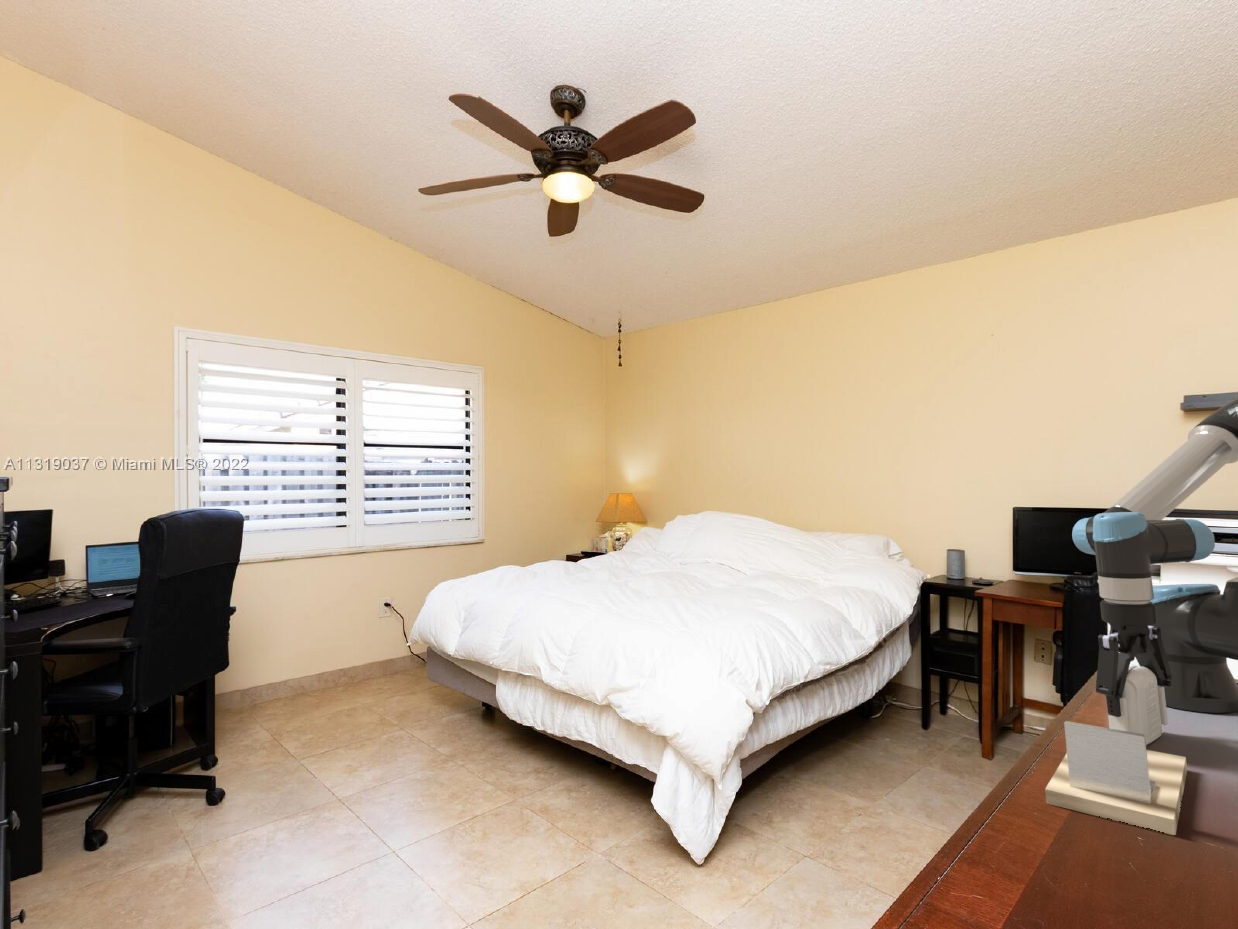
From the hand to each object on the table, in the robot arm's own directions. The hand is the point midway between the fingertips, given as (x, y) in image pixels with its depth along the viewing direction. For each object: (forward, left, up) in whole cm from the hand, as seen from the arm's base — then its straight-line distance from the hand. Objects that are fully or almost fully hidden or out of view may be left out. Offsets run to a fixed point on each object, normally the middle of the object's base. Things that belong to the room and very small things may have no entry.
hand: (1139, 728), depth 110 cm
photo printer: (0, 0, -2) cm, 2 cm away
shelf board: (+21, +9, -2) cm, 23 cm away
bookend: (+26, +11, 0) cm, 28 cm away
